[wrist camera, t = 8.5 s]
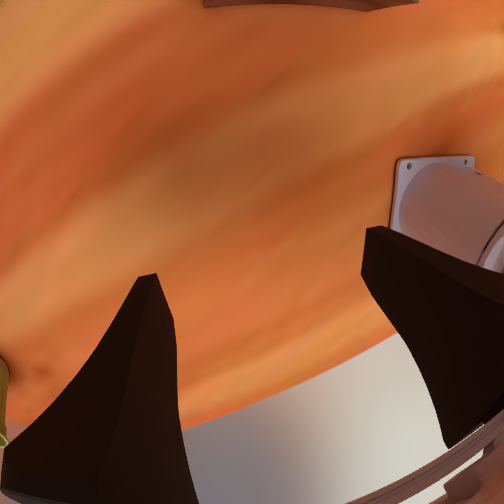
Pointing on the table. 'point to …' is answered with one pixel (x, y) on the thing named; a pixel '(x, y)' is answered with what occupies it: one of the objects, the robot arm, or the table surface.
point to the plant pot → (3, 401)
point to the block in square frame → (318, 3)
